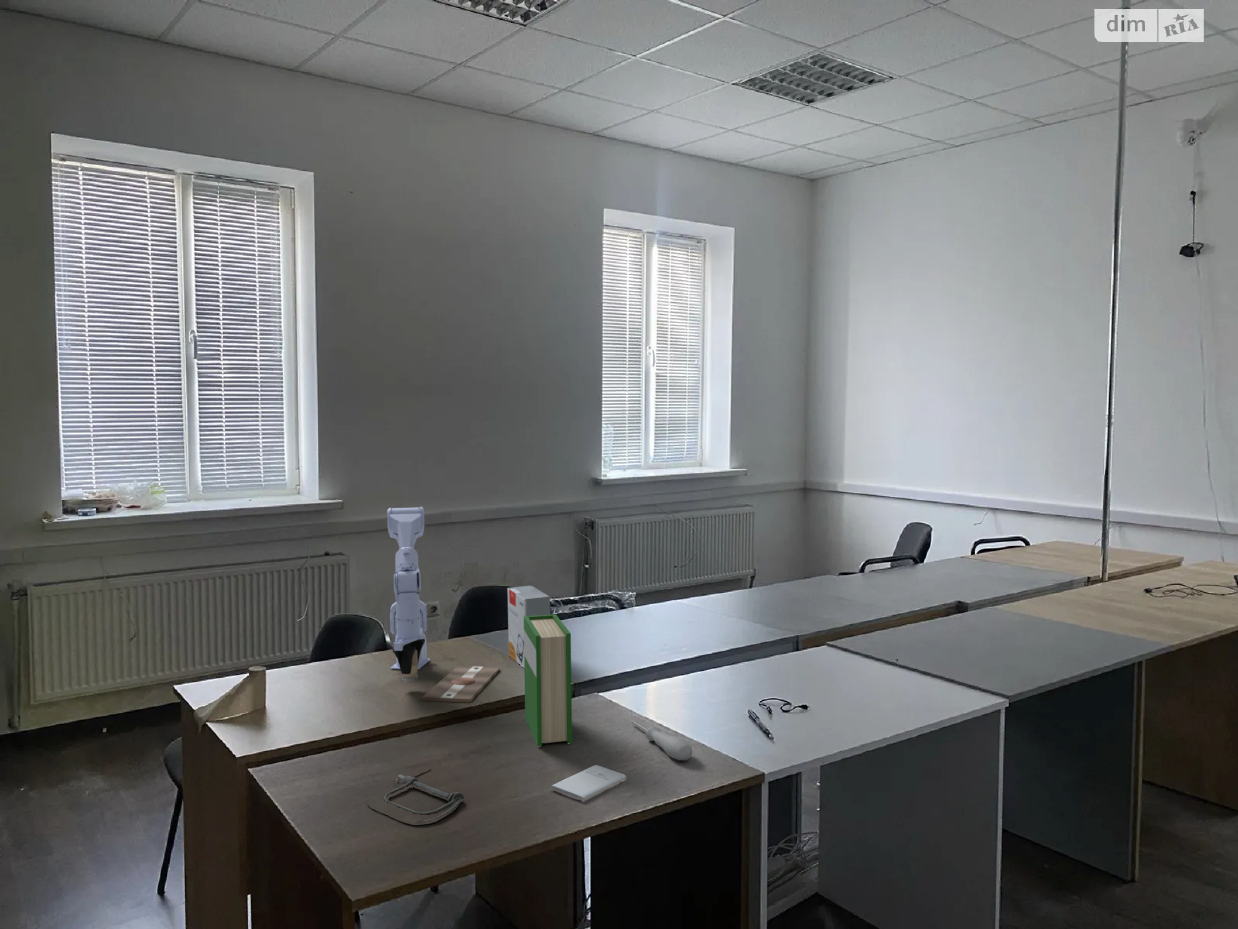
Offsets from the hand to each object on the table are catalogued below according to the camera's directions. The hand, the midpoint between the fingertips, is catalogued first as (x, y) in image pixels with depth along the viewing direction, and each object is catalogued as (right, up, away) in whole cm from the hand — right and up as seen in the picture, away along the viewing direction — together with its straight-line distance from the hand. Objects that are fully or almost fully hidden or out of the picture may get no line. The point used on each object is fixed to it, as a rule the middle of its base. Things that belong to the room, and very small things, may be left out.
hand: (409, 671), depth 227 cm
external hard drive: (+47, -10, -56) cm, 74 cm away
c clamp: (+17, -10, -61) cm, 64 cm away
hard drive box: (+28, -3, +24) cm, 37 cm away
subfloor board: (+13, -5, +4) cm, 14 cm away
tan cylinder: (0, -2, 0) cm, 2 cm away
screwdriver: (+61, -8, -36) cm, 71 cm away
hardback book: (+37, -7, -28) cm, 47 cm away
